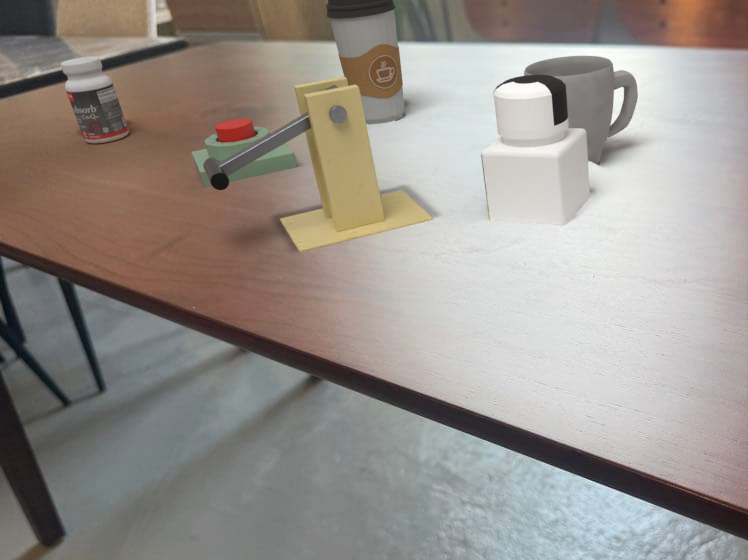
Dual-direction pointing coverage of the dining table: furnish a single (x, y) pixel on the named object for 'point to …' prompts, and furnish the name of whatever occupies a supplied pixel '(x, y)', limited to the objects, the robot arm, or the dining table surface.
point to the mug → (591, 96)
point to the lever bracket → (344, 173)
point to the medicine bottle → (535, 155)
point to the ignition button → (235, 130)
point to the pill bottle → (94, 101)
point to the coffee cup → (370, 55)
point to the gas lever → (254, 151)
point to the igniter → (264, 165)
